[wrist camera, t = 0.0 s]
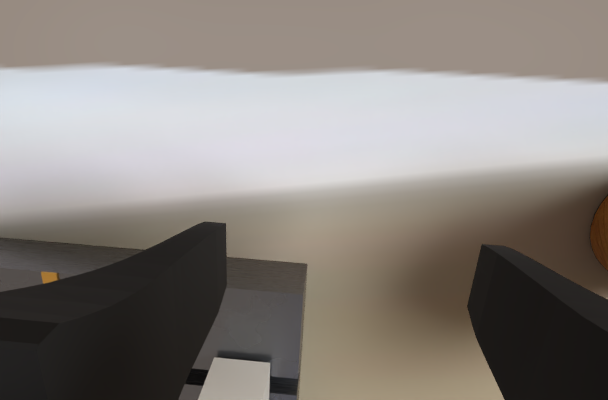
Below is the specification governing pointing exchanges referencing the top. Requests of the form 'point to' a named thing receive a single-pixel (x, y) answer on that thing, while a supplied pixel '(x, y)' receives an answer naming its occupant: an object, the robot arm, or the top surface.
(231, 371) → the fader tab
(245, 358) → the fader console
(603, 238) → the disposable coffee cup
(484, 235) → the top surface
